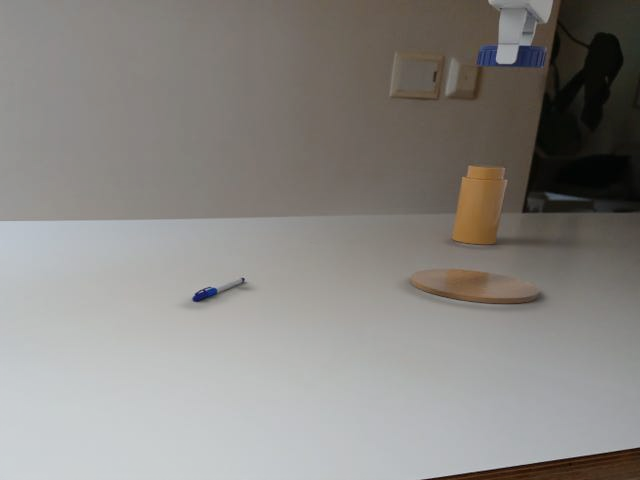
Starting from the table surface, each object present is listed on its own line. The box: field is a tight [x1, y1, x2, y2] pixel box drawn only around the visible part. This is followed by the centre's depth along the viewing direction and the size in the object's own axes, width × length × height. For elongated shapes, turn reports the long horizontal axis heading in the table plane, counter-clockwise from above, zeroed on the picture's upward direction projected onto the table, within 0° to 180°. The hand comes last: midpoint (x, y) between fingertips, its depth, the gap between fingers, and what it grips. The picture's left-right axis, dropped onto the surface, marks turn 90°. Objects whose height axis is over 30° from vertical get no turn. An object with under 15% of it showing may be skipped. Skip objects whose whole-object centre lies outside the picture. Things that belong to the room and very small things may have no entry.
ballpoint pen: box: [192, 277, 246, 302], centre depth 76 cm, size 10×1×1 cm, turn 149°
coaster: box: [410, 268, 540, 305], centre depth 81 cm, size 13×13×1 cm
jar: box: [451, 164, 508, 246], centre depth 107 cm, size 6×6×11 cm
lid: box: [476, 44, 548, 69], centre depth 74 cm, size 6×6×2 cm
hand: (510, 66), depth 74 cm, fingers closed on lid, 6 cm apart
